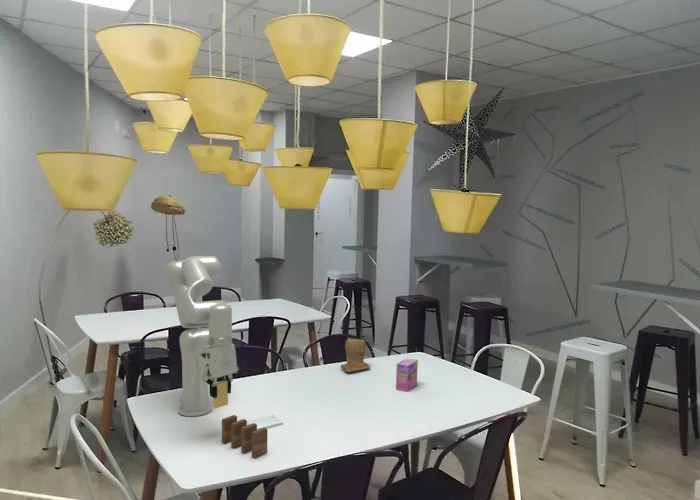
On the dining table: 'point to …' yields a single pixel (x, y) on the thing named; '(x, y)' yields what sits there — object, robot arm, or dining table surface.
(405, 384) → the box
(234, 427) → the walnut domino
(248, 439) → the walnut domino
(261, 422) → the hard drive
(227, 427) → the walnut domino
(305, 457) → the dining table surface
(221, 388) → the ochre domino
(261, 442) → the walnut domino
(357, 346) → the brown statuette
